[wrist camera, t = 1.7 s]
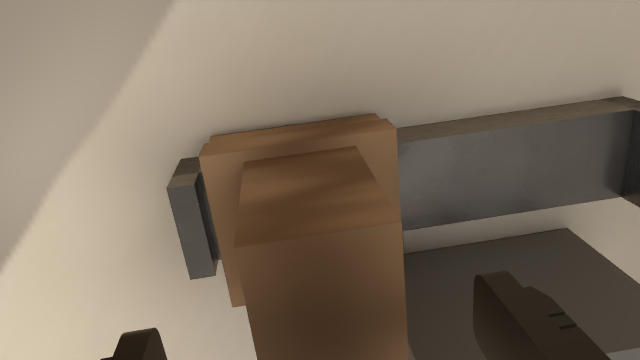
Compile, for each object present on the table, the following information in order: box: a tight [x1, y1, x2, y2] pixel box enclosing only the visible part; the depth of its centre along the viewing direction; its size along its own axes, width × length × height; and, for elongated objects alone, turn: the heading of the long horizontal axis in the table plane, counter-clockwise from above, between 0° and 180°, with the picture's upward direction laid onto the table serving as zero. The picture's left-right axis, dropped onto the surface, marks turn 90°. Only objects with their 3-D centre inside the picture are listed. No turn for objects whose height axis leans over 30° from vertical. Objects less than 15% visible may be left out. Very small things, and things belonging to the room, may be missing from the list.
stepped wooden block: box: [199, 114, 409, 360], centre depth 16 cm, size 7×6×9 cm
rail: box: [167, 96, 640, 280], centre depth 20 cm, size 20×4×3 cm, turn 97°
